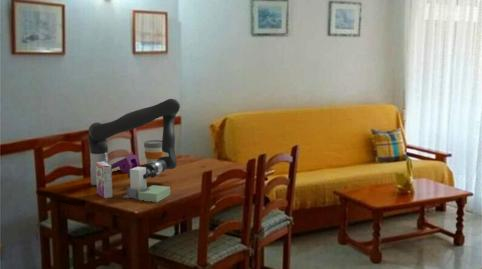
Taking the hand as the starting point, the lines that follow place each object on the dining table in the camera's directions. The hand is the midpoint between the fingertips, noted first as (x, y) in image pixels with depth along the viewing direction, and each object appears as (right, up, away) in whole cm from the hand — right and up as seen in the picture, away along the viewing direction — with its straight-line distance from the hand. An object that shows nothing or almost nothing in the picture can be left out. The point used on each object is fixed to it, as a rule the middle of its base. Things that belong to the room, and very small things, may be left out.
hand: (136, 176), depth 268 cm
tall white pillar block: (+1, -10, +4) cm, 11 cm away
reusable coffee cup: (-2, +1, +71) cm, 71 cm away
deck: (+5, -10, +2) cm, 11 cm away
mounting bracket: (-20, -1, +58) cm, 61 cm away
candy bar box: (-17, -10, +4) cm, 20 cm away
